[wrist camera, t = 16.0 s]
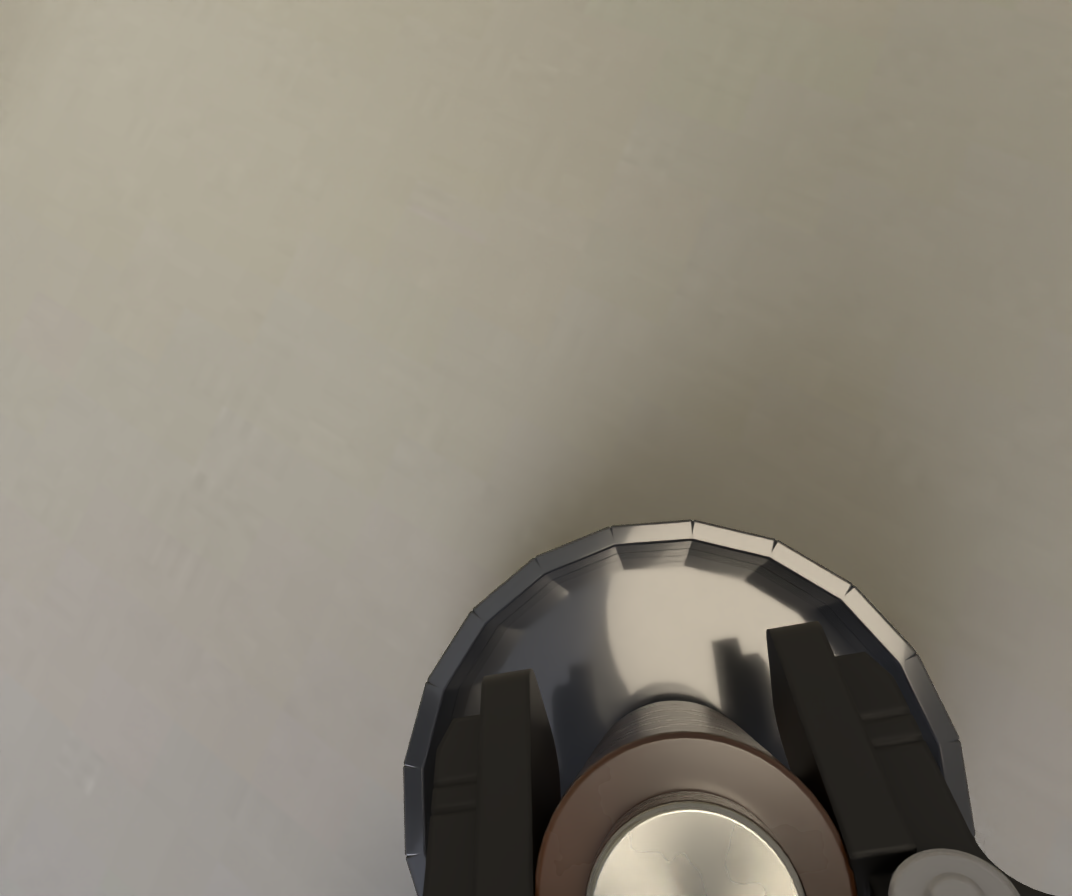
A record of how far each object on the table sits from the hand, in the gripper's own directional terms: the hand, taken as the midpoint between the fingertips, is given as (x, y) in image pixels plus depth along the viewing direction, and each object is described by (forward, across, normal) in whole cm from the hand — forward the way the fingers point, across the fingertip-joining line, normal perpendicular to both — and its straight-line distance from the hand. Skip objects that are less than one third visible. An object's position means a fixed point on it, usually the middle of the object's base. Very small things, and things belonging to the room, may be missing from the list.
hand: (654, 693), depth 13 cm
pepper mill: (+1, 0, +4) cm, 4 cm away
